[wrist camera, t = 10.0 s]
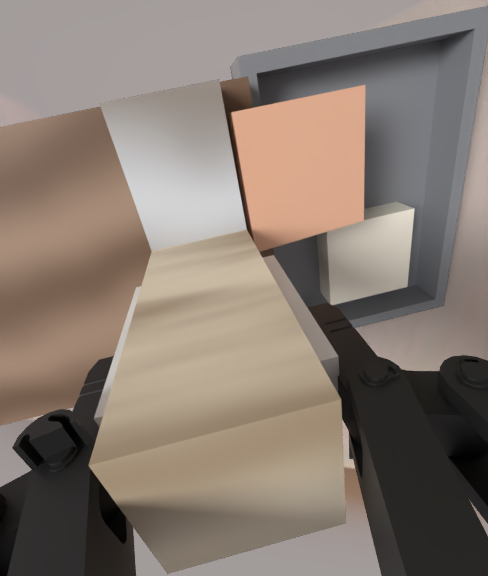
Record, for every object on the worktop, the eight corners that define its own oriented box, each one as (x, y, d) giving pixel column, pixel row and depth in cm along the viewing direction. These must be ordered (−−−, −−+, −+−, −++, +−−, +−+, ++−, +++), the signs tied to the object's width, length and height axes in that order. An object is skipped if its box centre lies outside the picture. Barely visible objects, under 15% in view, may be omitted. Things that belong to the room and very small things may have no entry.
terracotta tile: (341, 212, 18) (363, 220, 16) (243, 240, 17) (256, 252, 15) (338, 90, 15) (365, 84, 13) (219, 114, 14) (231, 112, 12)
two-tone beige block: (268, 364, 21) (349, 608, 10) (204, 380, 21) (220, 646, 10) (214, 85, 13) (322, -79, 3) (111, 106, 13) (-237, 20, 2)
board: (271, 313, 26) (288, 353, 21) (-3, 380, 24) (-45, 436, 20) (233, 87, 18) (248, 76, 13) (-172, 171, 17) (-299, 188, 12)
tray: (418, 287, 27) (443, 305, 24) (273, 323, 26) (282, 345, 23) (448, 22, 18) (493, 4, 15) (230, 66, 17) (237, 56, 15)
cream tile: (330, 305, 23) (320, 292, 25) (407, 286, 23) (392, 275, 25) (326, 228, 20) (315, 220, 22) (414, 208, 20) (396, 201, 22)
